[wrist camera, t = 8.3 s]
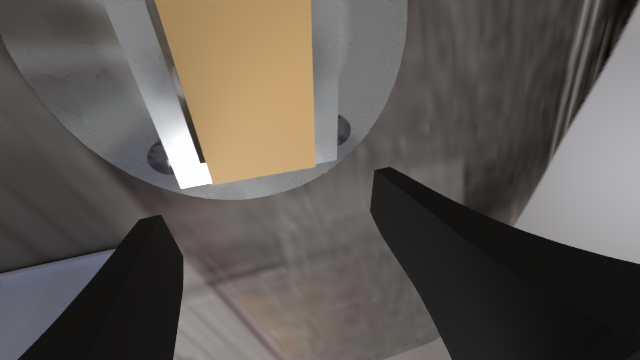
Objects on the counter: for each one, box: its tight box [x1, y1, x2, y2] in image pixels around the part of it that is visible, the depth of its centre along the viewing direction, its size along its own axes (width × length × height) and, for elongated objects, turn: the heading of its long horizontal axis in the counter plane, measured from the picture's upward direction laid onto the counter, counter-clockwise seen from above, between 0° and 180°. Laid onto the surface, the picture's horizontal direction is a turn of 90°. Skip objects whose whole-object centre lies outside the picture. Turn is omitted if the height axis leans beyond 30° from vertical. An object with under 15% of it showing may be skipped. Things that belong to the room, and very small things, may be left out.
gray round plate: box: [0, 0, 407, 200], centre depth 13 cm, size 18×18×4 cm
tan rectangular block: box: [155, 0, 316, 185], centre depth 11 cm, size 4×6×6 cm, turn 1°
